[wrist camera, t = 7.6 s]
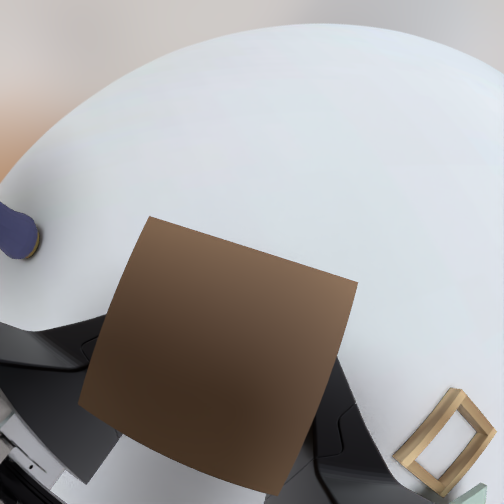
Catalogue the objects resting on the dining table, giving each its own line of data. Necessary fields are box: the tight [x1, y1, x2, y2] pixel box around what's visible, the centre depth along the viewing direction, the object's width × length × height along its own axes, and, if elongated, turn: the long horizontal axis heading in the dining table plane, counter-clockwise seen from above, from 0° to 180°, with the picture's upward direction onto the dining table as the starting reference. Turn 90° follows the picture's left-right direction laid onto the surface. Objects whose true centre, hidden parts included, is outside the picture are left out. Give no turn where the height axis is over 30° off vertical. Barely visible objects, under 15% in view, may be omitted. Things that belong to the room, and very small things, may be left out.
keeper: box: [392, 388, 497, 498], centre depth 13 cm, size 6×6×2 cm
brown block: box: [78, 216, 358, 496], centre depth 10 cm, size 4×4×13 cm
